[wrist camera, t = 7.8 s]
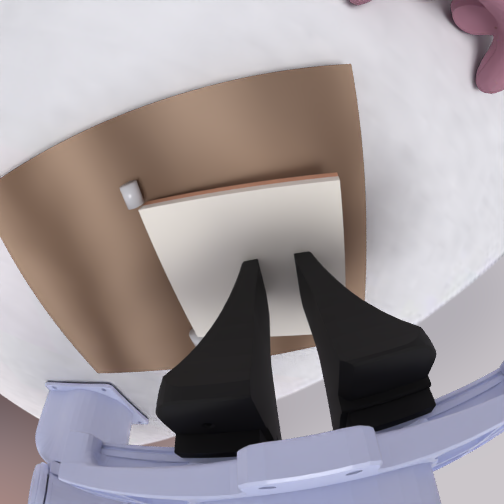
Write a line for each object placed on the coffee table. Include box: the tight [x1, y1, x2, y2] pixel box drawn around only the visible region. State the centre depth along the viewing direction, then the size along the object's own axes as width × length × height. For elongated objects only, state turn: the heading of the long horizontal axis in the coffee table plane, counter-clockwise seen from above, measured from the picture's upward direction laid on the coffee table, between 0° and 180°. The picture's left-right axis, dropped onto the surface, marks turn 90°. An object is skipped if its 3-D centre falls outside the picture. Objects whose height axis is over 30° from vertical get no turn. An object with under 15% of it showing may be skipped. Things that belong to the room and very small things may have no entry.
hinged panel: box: [120, 172, 345, 347], centre depth 13 cm, size 9×10×1 cm
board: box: [0, 64, 366, 373], centre depth 15 cm, size 20×16×1 cm
